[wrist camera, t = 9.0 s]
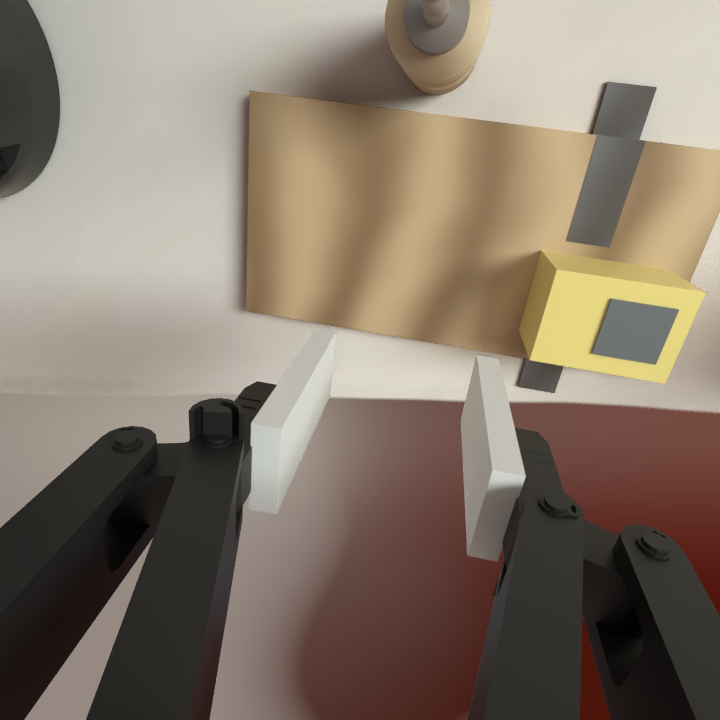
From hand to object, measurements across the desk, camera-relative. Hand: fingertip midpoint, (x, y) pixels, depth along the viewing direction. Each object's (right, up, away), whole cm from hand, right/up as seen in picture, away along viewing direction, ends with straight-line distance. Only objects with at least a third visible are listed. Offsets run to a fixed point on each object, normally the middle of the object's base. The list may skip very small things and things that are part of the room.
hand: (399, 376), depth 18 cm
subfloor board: (+5, +8, +12) cm, 15 cm away
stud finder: (+12, +4, +11) cm, 17 cm away
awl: (+3, +17, +8) cm, 19 cm away
